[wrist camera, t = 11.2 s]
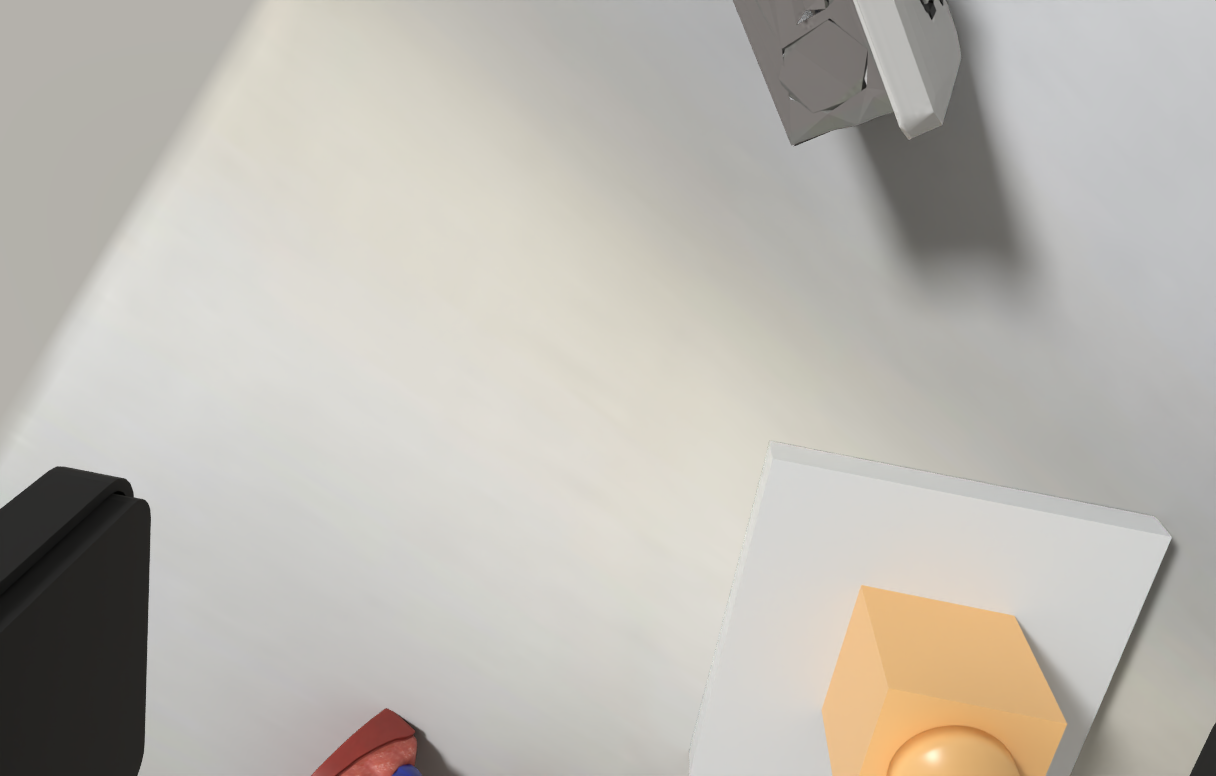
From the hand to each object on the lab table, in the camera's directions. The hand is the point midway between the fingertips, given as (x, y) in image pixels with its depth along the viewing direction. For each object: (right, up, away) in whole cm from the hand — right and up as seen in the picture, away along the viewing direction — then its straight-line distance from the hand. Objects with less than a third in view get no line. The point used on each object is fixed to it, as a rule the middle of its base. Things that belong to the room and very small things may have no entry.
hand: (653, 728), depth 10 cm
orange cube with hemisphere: (+11, -7, +31) cm, 33 cm away
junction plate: (+11, -7, +32) cm, 35 cm away
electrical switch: (+6, +16, +24) cm, 30 cm away
